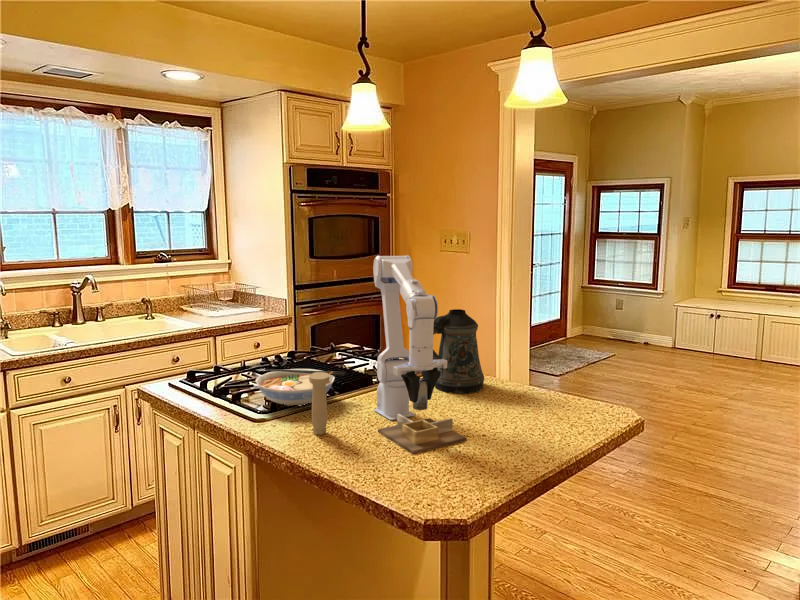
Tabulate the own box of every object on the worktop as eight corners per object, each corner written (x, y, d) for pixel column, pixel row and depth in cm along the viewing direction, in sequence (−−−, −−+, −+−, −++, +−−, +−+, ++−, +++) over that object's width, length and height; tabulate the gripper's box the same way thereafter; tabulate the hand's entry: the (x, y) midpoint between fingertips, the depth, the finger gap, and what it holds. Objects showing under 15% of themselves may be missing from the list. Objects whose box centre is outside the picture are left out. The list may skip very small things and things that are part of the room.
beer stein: (494, 386, 193) (496, 310, 189) (457, 400, 179) (459, 318, 175) (453, 376, 204) (455, 304, 200) (415, 388, 190) (417, 311, 186)
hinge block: (377, 432, 152) (378, 417, 152) (429, 421, 161) (429, 407, 160) (412, 454, 139) (412, 438, 138) (466, 440, 147) (467, 426, 147)
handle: (330, 428, 154) (330, 372, 152) (327, 437, 148) (327, 379, 146) (311, 428, 154) (311, 372, 152) (308, 437, 148) (307, 379, 146)
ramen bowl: (237, 412, 166) (236, 383, 165) (272, 388, 188) (272, 363, 187) (323, 420, 160) (322, 390, 159) (348, 394, 182) (348, 369, 181)
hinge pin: (409, 406, 146) (410, 379, 145) (421, 404, 148) (422, 377, 147) (418, 411, 143) (418, 382, 142) (430, 408, 145) (430, 380, 144)
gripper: (404, 352, 136) (404, 409, 138) (455, 345, 144) (453, 399, 146) (388, 346, 142) (388, 401, 144) (438, 340, 150) (436, 392, 152)
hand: (420, 400), depth 145 cm, fingers closed on hinge pin, 4 cm apart
